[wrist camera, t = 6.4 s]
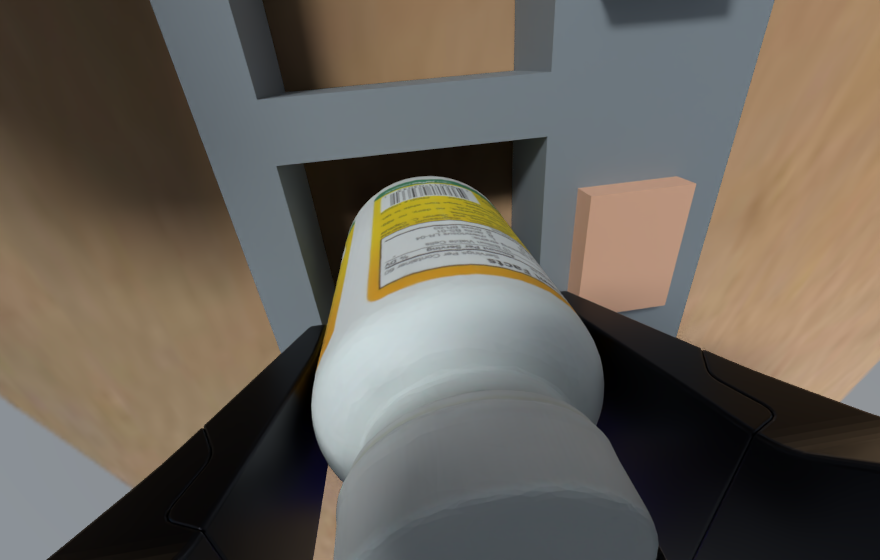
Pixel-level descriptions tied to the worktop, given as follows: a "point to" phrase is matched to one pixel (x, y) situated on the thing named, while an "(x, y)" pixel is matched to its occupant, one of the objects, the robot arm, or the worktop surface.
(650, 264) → the board
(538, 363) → the supplement bottle
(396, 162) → the worktop surface
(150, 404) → the worktop surface
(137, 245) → the worktop surface
